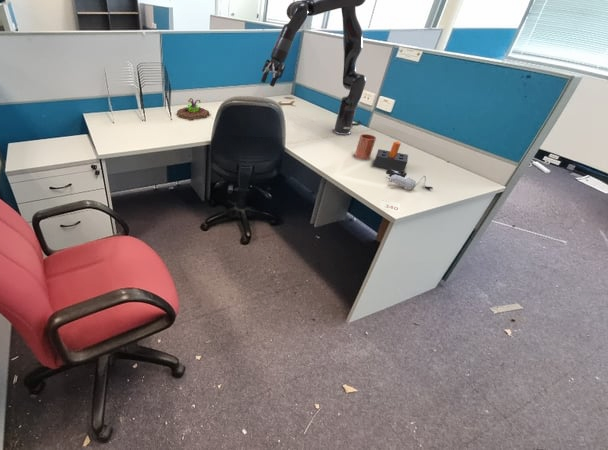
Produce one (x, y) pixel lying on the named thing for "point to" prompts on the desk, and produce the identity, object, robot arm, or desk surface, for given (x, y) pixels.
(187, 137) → the desk surface
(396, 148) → the orange cylinder rod
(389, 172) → the clip-on lamp
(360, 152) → the pen cup
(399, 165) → the holder
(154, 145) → the desk surface
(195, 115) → the plant
